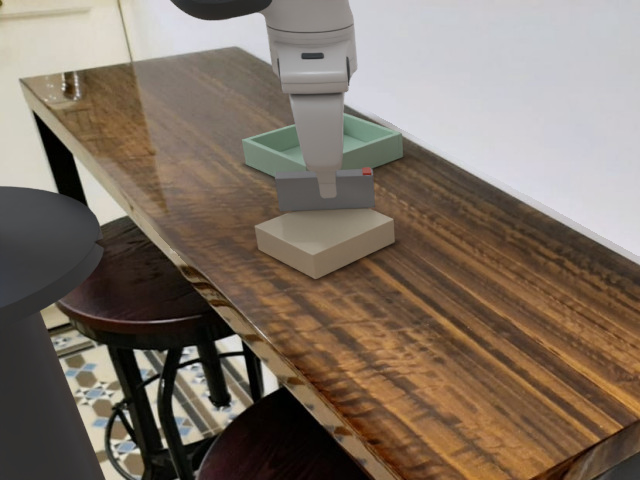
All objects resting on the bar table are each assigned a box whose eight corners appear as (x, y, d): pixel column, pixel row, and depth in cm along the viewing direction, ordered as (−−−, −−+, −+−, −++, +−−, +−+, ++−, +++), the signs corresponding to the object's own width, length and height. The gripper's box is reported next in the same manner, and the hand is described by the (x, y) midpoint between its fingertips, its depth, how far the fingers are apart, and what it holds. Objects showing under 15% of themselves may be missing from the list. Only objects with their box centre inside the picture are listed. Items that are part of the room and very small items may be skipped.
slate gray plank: (279, 211, 86) (274, 176, 83) (280, 204, 88) (275, 170, 85) (375, 207, 88) (373, 173, 85) (374, 200, 89) (372, 166, 87)
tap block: (315, 279, 80) (312, 255, 78) (258, 249, 85) (253, 225, 83) (395, 242, 88) (393, 218, 86) (338, 216, 92) (335, 193, 91)
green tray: (308, 192, 98) (305, 166, 96) (245, 164, 104) (241, 139, 102) (403, 157, 109) (402, 132, 107) (340, 133, 116) (338, 110, 113)
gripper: (285, 29, 85) (301, 147, 93) (279, 81, 69) (298, 218, 77) (341, 28, 86) (351, 144, 94) (348, 80, 70) (360, 214, 79)
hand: (328, 178), depth 86 cm, fingers open, 8 cm apart
